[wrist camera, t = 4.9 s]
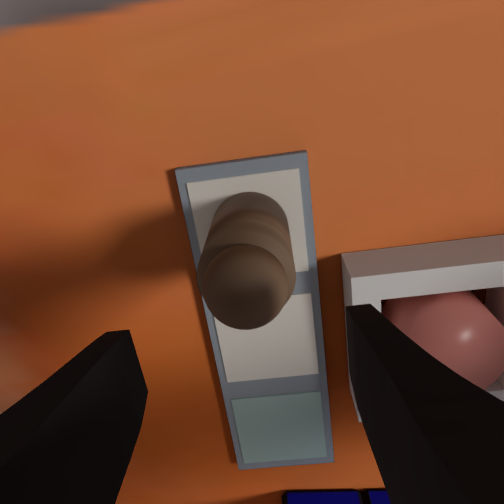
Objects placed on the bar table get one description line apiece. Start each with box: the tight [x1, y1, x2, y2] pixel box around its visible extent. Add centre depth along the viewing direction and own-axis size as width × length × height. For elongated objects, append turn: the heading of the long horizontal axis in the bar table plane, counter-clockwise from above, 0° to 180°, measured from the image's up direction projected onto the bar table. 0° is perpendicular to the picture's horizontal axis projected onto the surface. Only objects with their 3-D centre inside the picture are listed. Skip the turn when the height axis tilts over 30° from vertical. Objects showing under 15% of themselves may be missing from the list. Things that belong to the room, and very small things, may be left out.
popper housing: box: [341, 234, 504, 422], centre depth 20 cm, size 8×8×2 cm
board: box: [175, 150, 334, 470], centre depth 22 cm, size 6×18×1 cm, turn 8°
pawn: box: [196, 192, 296, 330], centre depth 16 cm, size 3×3×7 cm
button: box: [381, 290, 504, 390], centre depth 20 cm, size 5×5×3 cm
